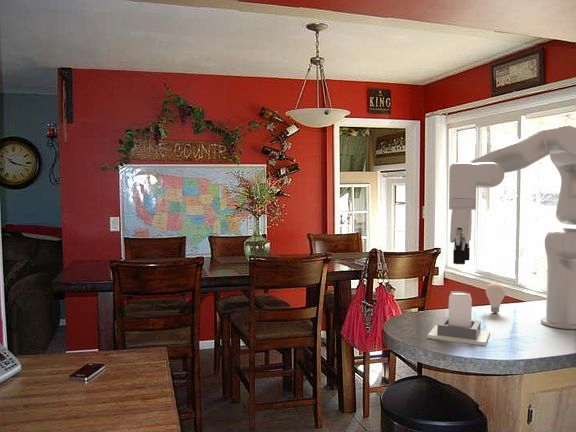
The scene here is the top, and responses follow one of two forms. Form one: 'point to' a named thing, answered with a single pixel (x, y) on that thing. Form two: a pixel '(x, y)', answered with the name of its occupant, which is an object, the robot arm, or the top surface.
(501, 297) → the light bulb
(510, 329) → the top surface
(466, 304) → the can
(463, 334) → the socket board
